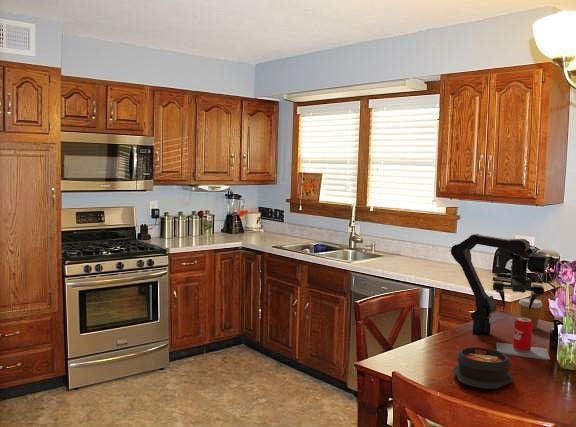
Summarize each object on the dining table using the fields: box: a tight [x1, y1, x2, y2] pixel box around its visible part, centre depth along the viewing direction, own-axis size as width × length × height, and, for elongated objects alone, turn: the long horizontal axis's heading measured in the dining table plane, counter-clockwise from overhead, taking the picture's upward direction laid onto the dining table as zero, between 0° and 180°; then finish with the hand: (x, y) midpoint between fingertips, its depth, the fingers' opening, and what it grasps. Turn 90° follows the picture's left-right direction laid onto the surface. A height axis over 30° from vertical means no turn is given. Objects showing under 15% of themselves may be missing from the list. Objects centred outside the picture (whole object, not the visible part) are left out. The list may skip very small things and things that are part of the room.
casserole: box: [452, 346, 514, 390], centre depth 176 cm, size 25×19×8 cm
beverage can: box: [512, 316, 533, 352], centre depth 204 cm, size 6×6×12 cm
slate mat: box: [495, 342, 551, 361], centre depth 204 cm, size 18×12×1 cm, turn 70°
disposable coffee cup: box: [518, 297, 543, 330], centre depth 237 cm, size 10×10×12 cm
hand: (516, 308), depth 217 cm, fingers open, 9 cm apart
